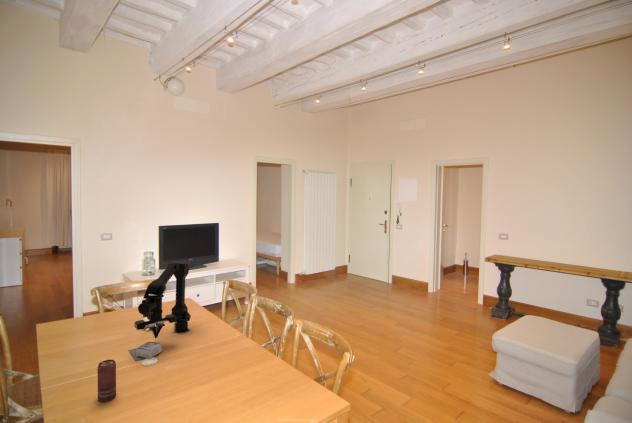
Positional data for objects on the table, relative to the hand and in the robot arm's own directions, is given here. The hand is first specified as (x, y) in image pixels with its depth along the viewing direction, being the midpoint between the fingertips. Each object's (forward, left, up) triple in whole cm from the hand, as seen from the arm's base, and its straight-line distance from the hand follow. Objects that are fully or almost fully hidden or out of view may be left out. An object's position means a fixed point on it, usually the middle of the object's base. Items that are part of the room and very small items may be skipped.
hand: (155, 338), depth 177 cm
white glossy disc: (+6, +12, -6) cm, 15 cm away
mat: (+6, 0, -6) cm, 9 cm away
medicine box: (+1, +2, -3) cm, 4 cm away
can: (+27, +32, -6) cm, 42 cm away
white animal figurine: (-4, -32, -6) cm, 33 cm away
